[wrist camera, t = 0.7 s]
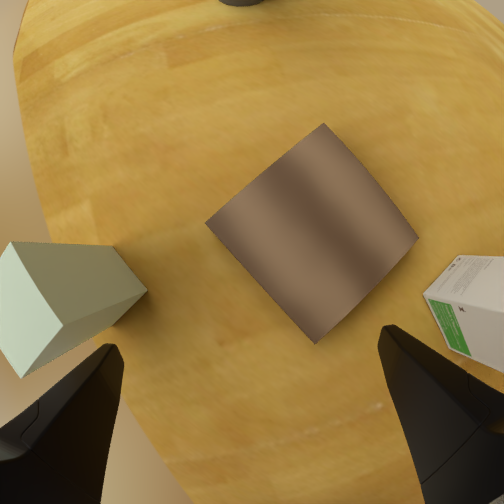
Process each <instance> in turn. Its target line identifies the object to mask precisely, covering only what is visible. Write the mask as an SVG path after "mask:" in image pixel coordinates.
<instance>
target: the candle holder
mask: <svg viewBox="0 0 504 504" xmlns="http://www.w3.org/2000/svg"><path fill="white" fill-rule="evenodd" d="M219 1H220V2H222V3H224V4H227V5H232V6H250V5H254V4H258V3H260V2H261V1H263V0H219Z"/></svg>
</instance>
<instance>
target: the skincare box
mask: <svg viewBox="0 0 504 504" xmlns="http://www.w3.org/2000/svg"><path fill="white" fill-rule="evenodd" d="M423 296H424V298H425V300H426V302H427V303H428V305H429V307H430V310H431V312H432V314H433V316H434V318H435V320H436V322H437V324H438V326H439V328H440V330H441V332H442V334H443V337H444V339H445V341H446V344H447V346H448V348H449V349H451V350H453V351H455V352H457V353H459V354H462V355H464V356H466V357H469V358H471V359H473V360H475V361H477V362H480V363H482V364H484V365H487V366H489V367H491V368H493V369H496V370H498V371H500V372H502V373H504V257H501V256H471V255H458V256H457V257H456V258H455V259H454V260H453V262H452V263H451V264H450V265H449V266H448V267H447V268H446V269H445V270H444V272H443V273H442V274H441V275H440V276H439V277H438V278H437V279H436V280H435V281H434V282H433V283H432V284H431V285H430V287H429V288H428V289H427V290H426V291H425V292H424V293H423Z"/></svg>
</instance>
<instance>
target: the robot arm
mask: <svg viewBox="0 0 504 504" xmlns="http://www.w3.org/2000/svg"><path fill="white" fill-rule="evenodd" d="M378 352H379V356H380V359H381V363H382V367H383V371H384V375H385V379H386V382H387V386H388V389H389V392H390V394H391V397H392V400H393V403H394V405H395V408H396V411H397V414H398V416H399V419H400V422H401V425H402V428H403V431H404V434H405V437H406V440H407V443H408V446H409V449H410V452H411V455H412V458H413V462H414V465H415V468H416V472H417V475H418V478H419V482H420V484H421V489H422V493H423V497H424V500H425V504H504V394H503V393H501V392H499V391H497V390H496V389H494V388H492V387H490V386H488V385H487V384H485V383H484V382H482V381H480V380H479V379H477V378H476V377H474V376H473V375H471V374H470V373H468V374H467V372H466V371H465V370H463V369H462V368H460V367H459V366H457V365H456V364H454V363H453V362H451V361H450V360H448V359H447V358H445V357H444V356H442V355H441V354H439V353H438V352H436V351H435V350H433V349H431V348H430V347H428V346H427V345H425V344H424V343H422V342H421V341H419V340H418V339H416V338H415V337H413V336H411V335H410V334H408V333H407V332H405V331H404V330H402V329H401V328H399V327H398V326H396V325H393V324H392V325H386V326H383V328H382V330H381V333H380V337H379V341H378ZM123 371H124V361H123V358H122V356H121V354H120V352H119V350H118V347H117V346H116V345H115V344H108V343H106V344H103V345H102V346H101V347H100V348H98V349H97V350H96V351H95V352H94V353H92V354H91V355H90V356H89V357H87V358H86V359H85V360H84V361H83V362H81V363H80V364H79V365H78V366H77V367H75V368H74V369H73V370H72V371H71V372H69V373H68V374H67V375H66V376H65V377H63V378H62V379H61V380H60V381H59V382H58V383H56V384H55V385H54V386H53V387H52V388H50V389H49V390H48V391H47V392H46V393H45V394H43V395H42V396H41V397H40V398H39V399H38V400H36V401H35V402H34V403H33V404H32V405H30V406H29V407H28V408H27V409H25V410H24V411H23V412H22V413H20V414H19V415H18V416H16V417H15V418H14V419H12V420H11V421H9V422H8V423H7V424H5V425H4V426H2V427H1V428H0V504H101V503H100V502H101V496H102V489H103V483H104V476H105V470H106V465H107V459H108V454H109V448H110V443H111V438H112V434H113V429H114V424H115V419H116V415H117V411H118V406H119V401H120V394H121V386H122V378H123Z"/></svg>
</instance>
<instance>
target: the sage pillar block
mask: <svg viewBox="0 0 504 504" xmlns="http://www.w3.org/2000/svg"><path fill="white" fill-rule="evenodd" d="M147 291H148V290H147V289H146V287H145V286H144V285H143V284H142V283H141V281H140V280H139V279H138V278H137V277H136V275H135V274H134V273H133V272H132V271H131V269H130V268H129V267H128V266H127V264H126V263H125V262H124V261H123V259H122V258H121V257H120V256H119V254H118V253H117V252H116V250H115V249H114V248H113V247H112V246H103V245H80V244H57V243H34V242H10V243H9V245H8V246H7V248H6V249H5V251H4V252H3V254H2V256H1V257H0V349H1V350H2V352H3V353H4V355H5V357H6V358H7V359H8V361H9V363H10V364H11V365H12V367H13V368H14V370H15V371H16V373H17V374H18V375H19V377H20V378H23V377H25V376H27V375H28V374H30V373H32V372H34V371H35V370H37V369H39V368H40V367H42V366H44V365H45V364H47V363H49V362H51V361H52V360H54V359H55V358H57V357H59V356H61V355H63V354H64V353H66V352H68V351H69V350H71V349H73V348H75V347H76V346H78V345H80V344H81V343H83V342H85V341H87V340H88V339H90V338H92V337H94V336H95V335H97V334H99V333H100V332H102V331H104V330H106V329H107V328H109V327H111V326H112V325H113V324H114V323H115V322H116V321H117V320H118V319H119V318H120V317H121V316H122V315H123V314H124V313H125V312H126V311H127V310H128V309H129V308H130V307H131V306H132V305H133V304H134V303H135V302H136V301H137V300H138V299H139V298H141V297H142V296H143V295H144V294H145V293H146V292H147Z"/></svg>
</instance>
